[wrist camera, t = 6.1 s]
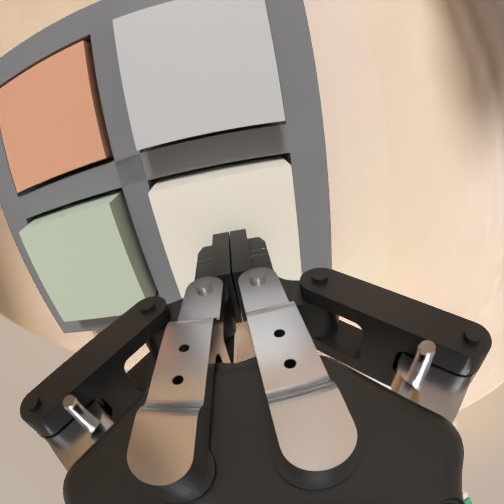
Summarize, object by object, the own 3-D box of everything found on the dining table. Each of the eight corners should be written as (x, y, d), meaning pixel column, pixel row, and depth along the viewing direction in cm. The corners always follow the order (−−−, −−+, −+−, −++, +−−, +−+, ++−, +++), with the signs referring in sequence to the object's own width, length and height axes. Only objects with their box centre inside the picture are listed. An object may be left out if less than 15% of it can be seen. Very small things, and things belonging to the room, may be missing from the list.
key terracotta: (17, 90, 11) (-6, 92, 9) (101, 47, 11) (83, 40, 9) (37, 180, 14) (17, 192, 12) (121, 149, 14) (106, 158, 12)
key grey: (128, 30, 10) (112, 19, 8) (255, 3, 10) (261, -13, 8) (149, 143, 13) (136, 150, 11) (275, 118, 13) (285, 120, 11)
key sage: (38, 215, 14) (18, 232, 12) (124, 188, 14) (109, 203, 12) (76, 299, 17) (64, 321, 15) (157, 286, 17) (150, 311, 15)
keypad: (4, 77, 11) (-26, 78, 8) (281, -14, 11) (294, -36, 8) (78, 305, 21) (64, 333, 18) (316, 264, 21) (331, 292, 18)
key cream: (158, 179, 14) (147, 193, 12) (280, 155, 14) (291, 165, 12) (188, 281, 17) (184, 306, 15) (293, 262, 18) (302, 285, 15)
